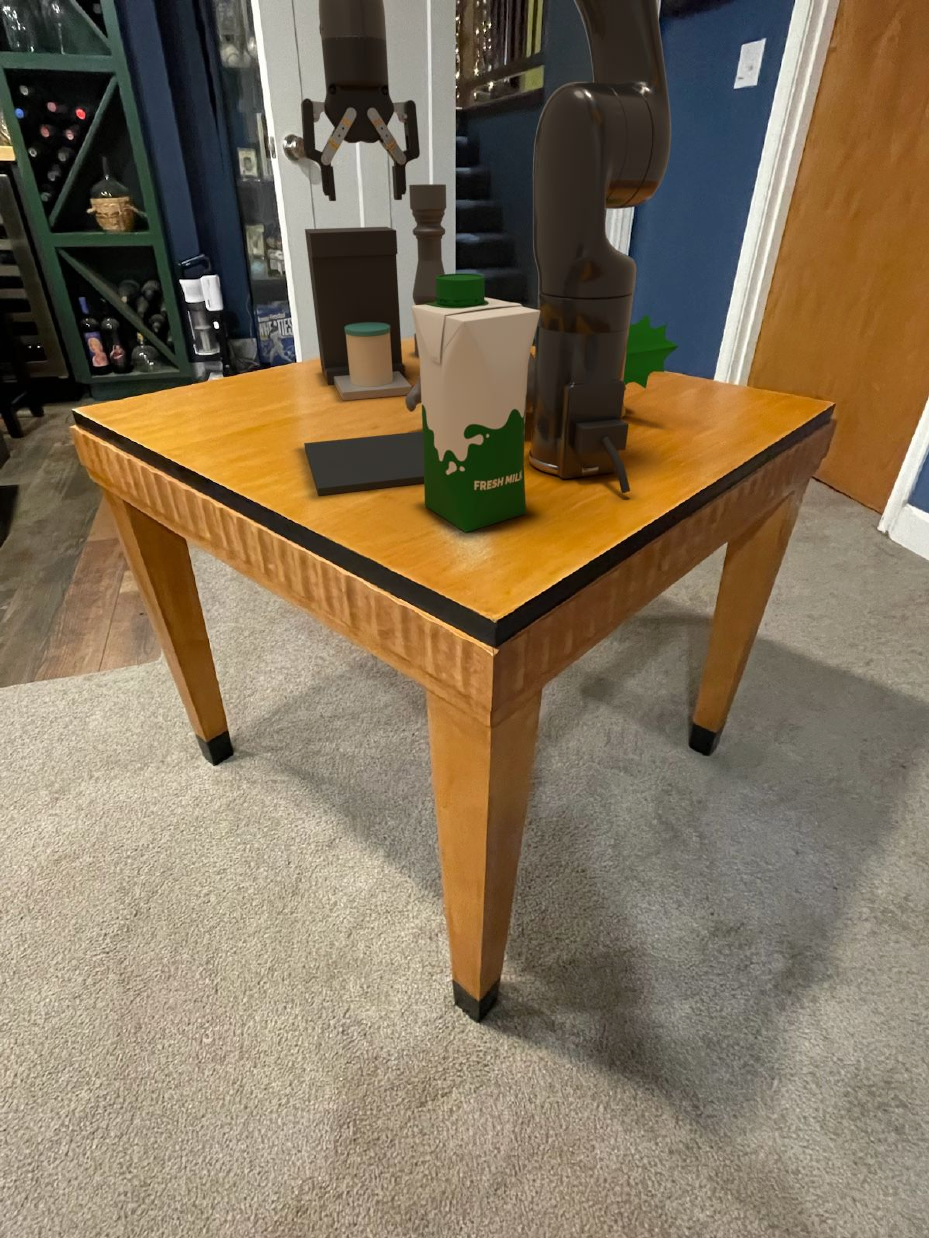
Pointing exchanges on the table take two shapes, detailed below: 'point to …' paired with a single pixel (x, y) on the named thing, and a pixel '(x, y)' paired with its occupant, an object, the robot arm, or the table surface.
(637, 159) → the robot arm
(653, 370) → the ornament
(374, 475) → the mat
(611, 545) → the table surface
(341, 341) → the coffee maker
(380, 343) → the container
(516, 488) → the fresh milk carton
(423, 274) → the candle holder
